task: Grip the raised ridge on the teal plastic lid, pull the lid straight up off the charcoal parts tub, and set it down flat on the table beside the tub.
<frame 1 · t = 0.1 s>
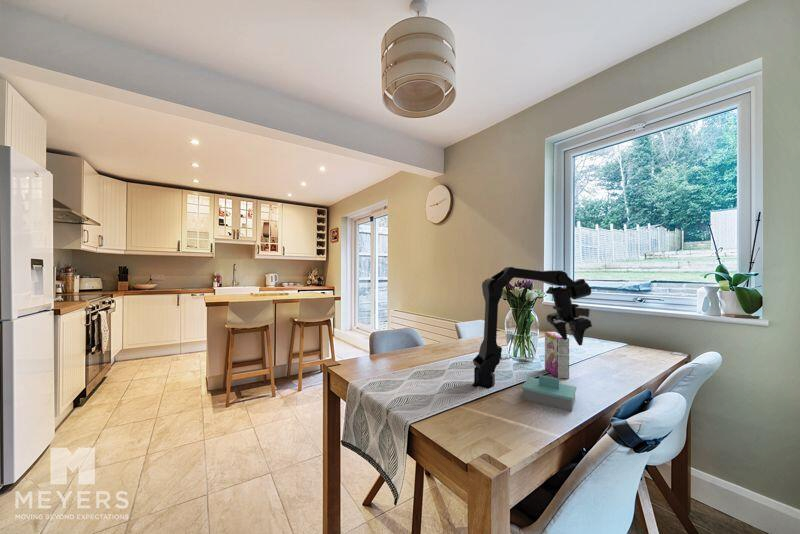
hand: (572, 342, 113), 16 cm above the table, tool pointing down, fingers open, 8 cm apart
steel nut B: (559, 400, 97), point 1 cm above the table, touching parts tub
teal lid: (549, 389, 98), point 4 cm above the table, touching parts tub
candy bar box: (556, 374, 123), on the table, touching gripper
parts tub: (549, 401, 98), on the table
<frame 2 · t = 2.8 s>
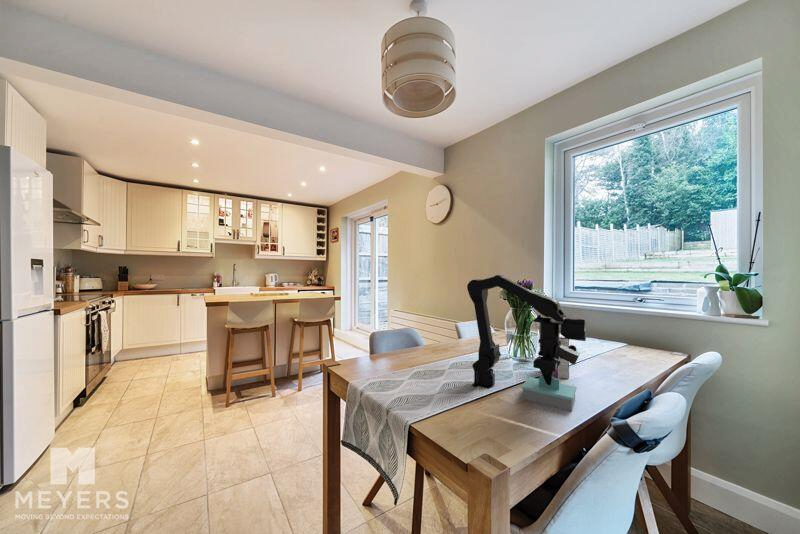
hand: (549, 384, 98), 6 cm above the table, tool pointing down, fingers closed on teal lid
teal lid: (549, 389, 98), point 4 cm above the table, touching gripper, parts tub
candy bar box: (556, 374, 123), on the table
everything else where it was.
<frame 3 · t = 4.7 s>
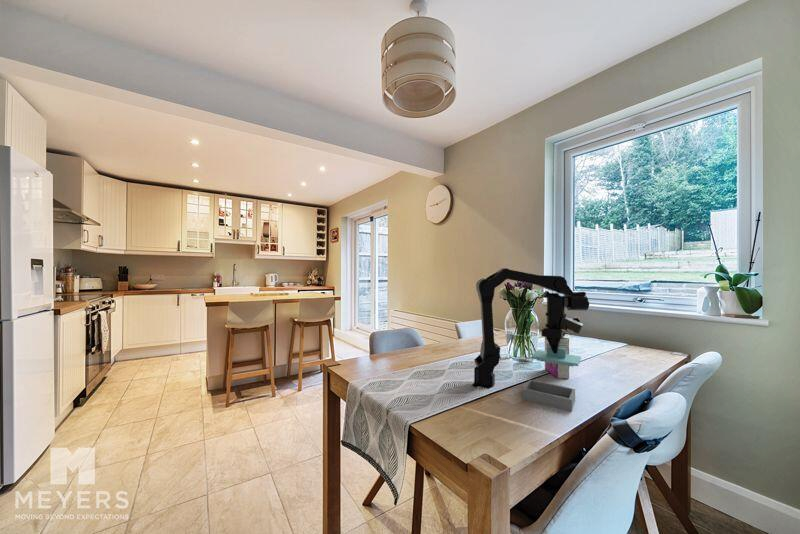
hand: (555, 352, 108), 13 cm above the table, tool pointing down, fingers closed on teal lid
teal lid: (556, 358, 108), point 11 cm above the table, touching gripper
everything else where it was.
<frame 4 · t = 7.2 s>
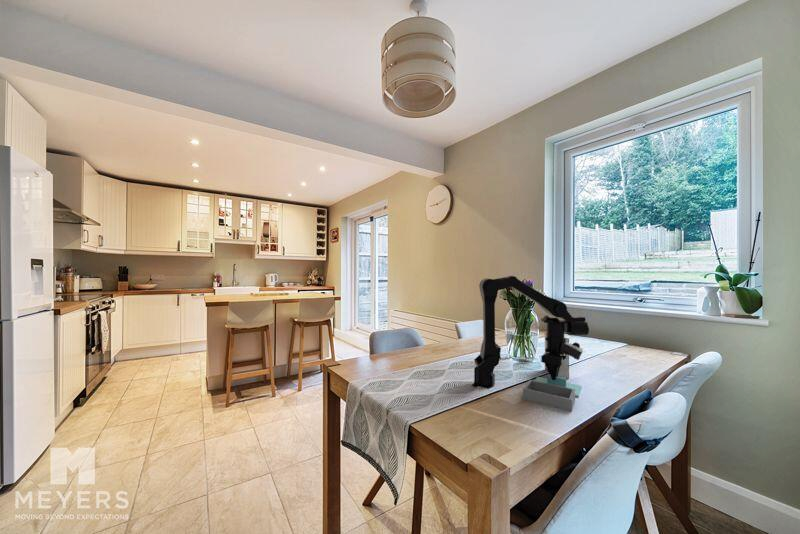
hand: (555, 377, 108), 4 cm above the table, tool pointing down, fingers open, 5 cm apart
teal lid: (556, 387, 108), on the table
everything else where it was.
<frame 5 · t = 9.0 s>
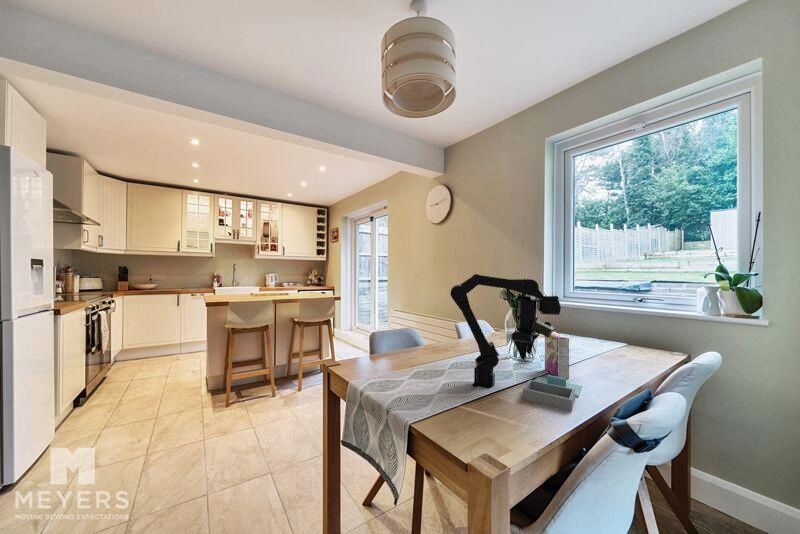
hand: (526, 356, 108), 12 cm above the table, tool pointing down, fingers open, 9 cm apart
nothing on the table moved.
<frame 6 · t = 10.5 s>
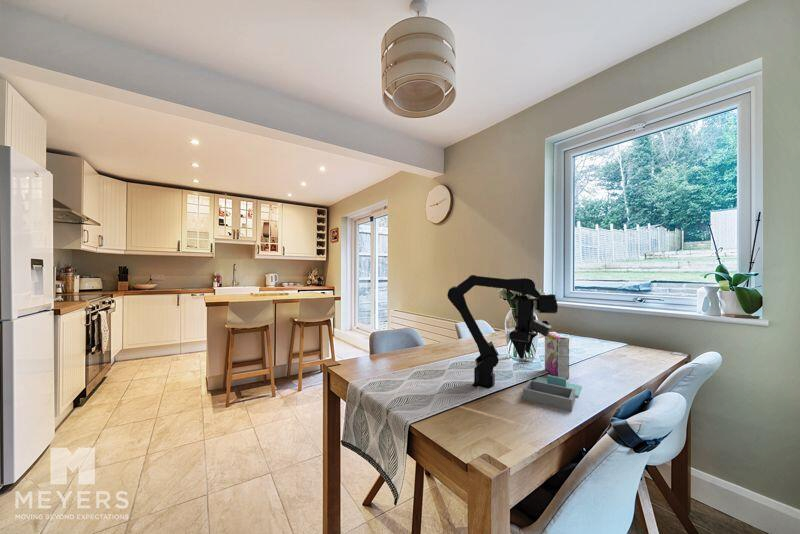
hand: (524, 355, 108), 12 cm above the table, tool pointing down, fingers open, 9 cm apart
nothing on the table moved.
at the end: teal lid touching table; teal lid inside the target area (0.5 cm from its centre), on the table; teal lid tilted 0° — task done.
